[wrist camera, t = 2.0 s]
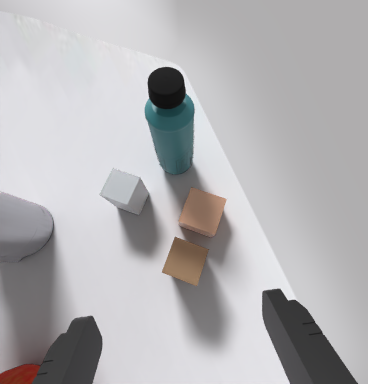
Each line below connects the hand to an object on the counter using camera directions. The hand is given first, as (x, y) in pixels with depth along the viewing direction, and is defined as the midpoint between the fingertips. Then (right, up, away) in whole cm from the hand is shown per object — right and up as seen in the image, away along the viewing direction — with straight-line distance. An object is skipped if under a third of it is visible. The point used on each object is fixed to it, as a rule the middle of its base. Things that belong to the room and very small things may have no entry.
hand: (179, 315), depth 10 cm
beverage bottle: (-1, +11, +31) cm, 33 cm away
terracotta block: (+3, +1, +28) cm, 28 cm away
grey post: (-9, +4, +28) cm, 30 cm away
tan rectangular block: (+1, -6, +25) cm, 26 cm away
